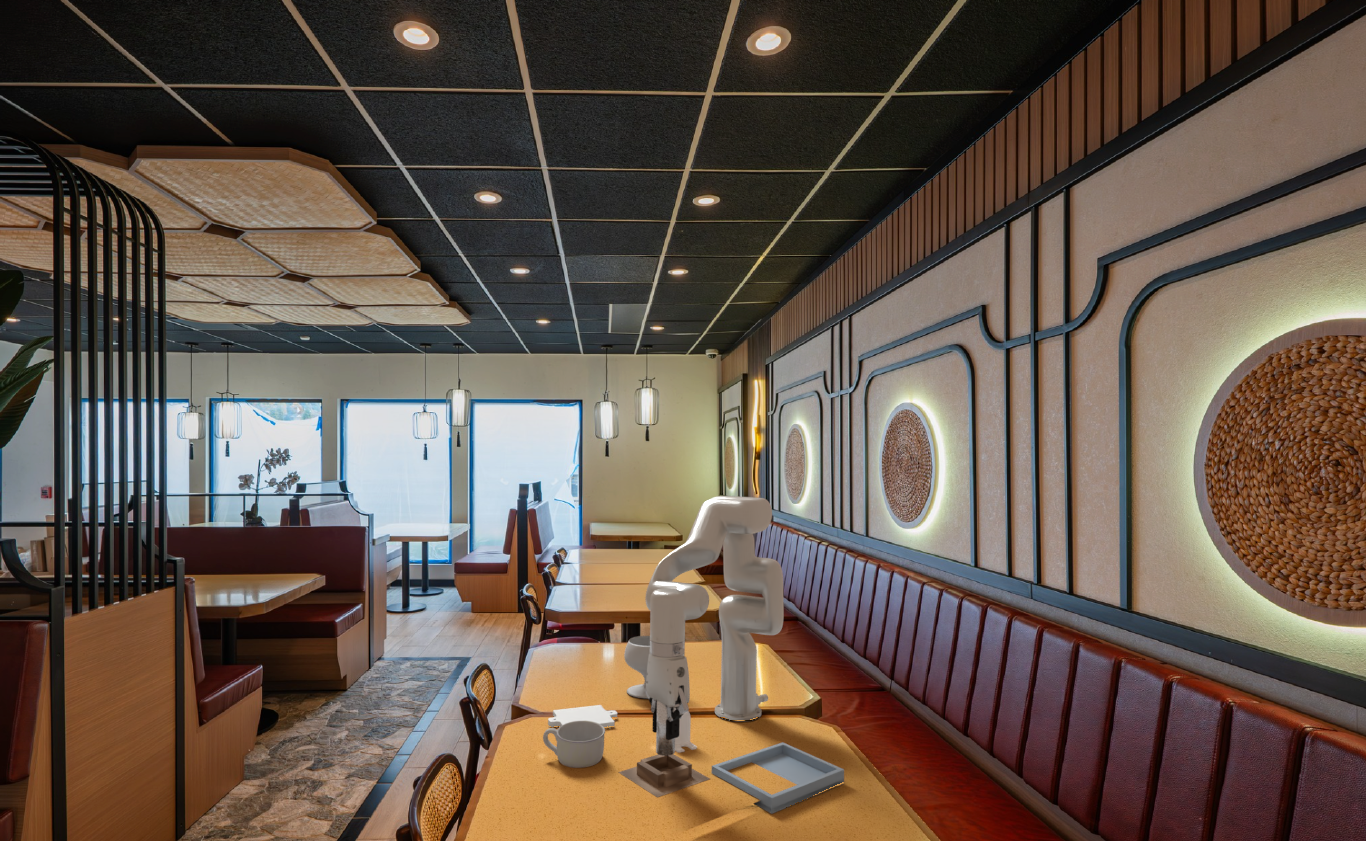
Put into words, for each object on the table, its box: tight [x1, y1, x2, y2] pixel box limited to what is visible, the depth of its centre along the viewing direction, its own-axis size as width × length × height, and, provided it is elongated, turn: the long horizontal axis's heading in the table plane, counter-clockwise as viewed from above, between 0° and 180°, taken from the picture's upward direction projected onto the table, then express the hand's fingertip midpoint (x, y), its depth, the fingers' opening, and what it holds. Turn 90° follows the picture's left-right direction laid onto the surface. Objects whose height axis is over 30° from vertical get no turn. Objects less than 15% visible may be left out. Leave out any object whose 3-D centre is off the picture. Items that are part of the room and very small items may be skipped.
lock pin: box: [655, 701, 676, 756], centre depth 155 cm, size 4×4×12 cm
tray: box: [711, 741, 845, 815], centre depth 156 cm, size 22×18×3 cm
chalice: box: [623, 635, 650, 699], centre depth 212 cm, size 14×14×15 cm
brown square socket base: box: [618, 753, 711, 798], centre depth 154 cm, size 14×14×4 cm
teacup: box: [542, 721, 606, 769], centre depth 162 cm, size 14×11×8 cm
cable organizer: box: [675, 711, 698, 754], centre depth 172 cm, size 5×10×10 cm, turn 31°
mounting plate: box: [547, 704, 618, 727], centre depth 188 cm, size 18×13×2 cm
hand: (665, 733), depth 155 cm, fingers closed on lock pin, 4 cm apart
